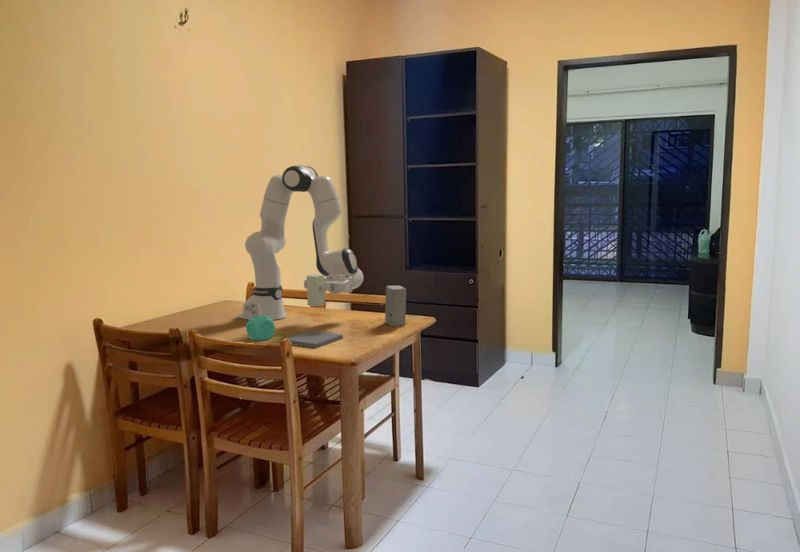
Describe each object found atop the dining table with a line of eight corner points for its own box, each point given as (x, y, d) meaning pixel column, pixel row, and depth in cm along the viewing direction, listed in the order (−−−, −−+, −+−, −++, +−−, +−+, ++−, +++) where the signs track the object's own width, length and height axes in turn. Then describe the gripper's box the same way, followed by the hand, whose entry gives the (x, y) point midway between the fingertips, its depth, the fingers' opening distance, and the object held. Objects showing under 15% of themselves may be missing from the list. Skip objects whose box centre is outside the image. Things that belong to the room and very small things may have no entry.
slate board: (282, 343, 228) (282, 339, 228) (310, 333, 242) (310, 330, 241) (316, 348, 220) (315, 344, 220) (343, 338, 233) (342, 334, 233)
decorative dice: (264, 334, 242) (263, 314, 241) (275, 337, 237) (274, 317, 235) (246, 338, 237) (245, 318, 236) (257, 341, 231) (256, 321, 230)
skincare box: (384, 322, 258) (383, 285, 256) (400, 321, 261) (399, 284, 259) (391, 327, 251) (390, 288, 248) (407, 325, 253) (406, 287, 251)
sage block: (307, 305, 246) (306, 275, 244) (315, 303, 250) (314, 274, 249) (317, 306, 244) (316, 276, 242) (325, 304, 248) (324, 274, 246)
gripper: (316, 273, 262) (294, 278, 250) (354, 277, 251) (334, 281, 240) (316, 288, 263) (295, 293, 251) (355, 292, 252) (334, 297, 240)
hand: (314, 287), depth 245 cm, fingers closed on sage block, 5 cm apart
